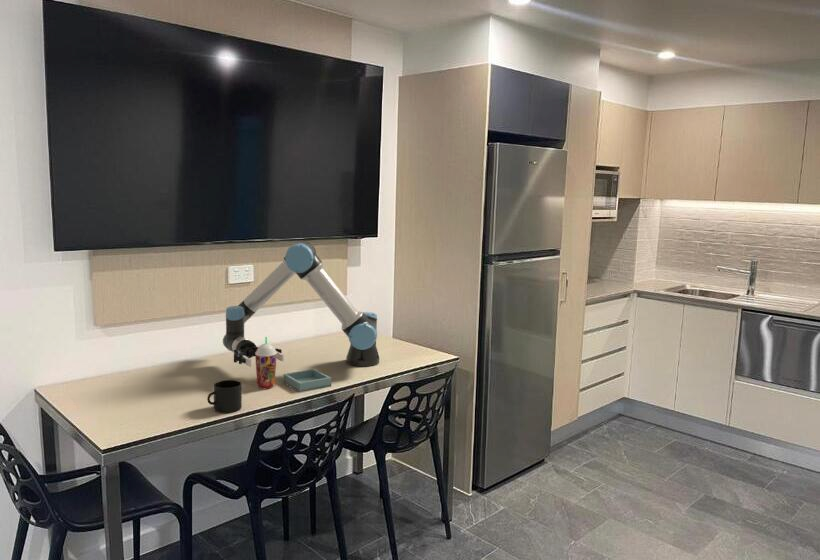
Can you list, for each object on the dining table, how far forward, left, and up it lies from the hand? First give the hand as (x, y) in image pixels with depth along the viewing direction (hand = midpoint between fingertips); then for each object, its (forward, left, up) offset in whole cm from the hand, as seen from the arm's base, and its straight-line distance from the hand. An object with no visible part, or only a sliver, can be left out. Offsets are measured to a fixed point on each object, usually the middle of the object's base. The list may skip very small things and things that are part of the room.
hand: (266, 360), depth 243 cm
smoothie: (0, -1, -11) cm, 11 cm away
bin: (-15, +5, -11) cm, 19 cm away
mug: (+23, +14, -11) cm, 29 cm away
